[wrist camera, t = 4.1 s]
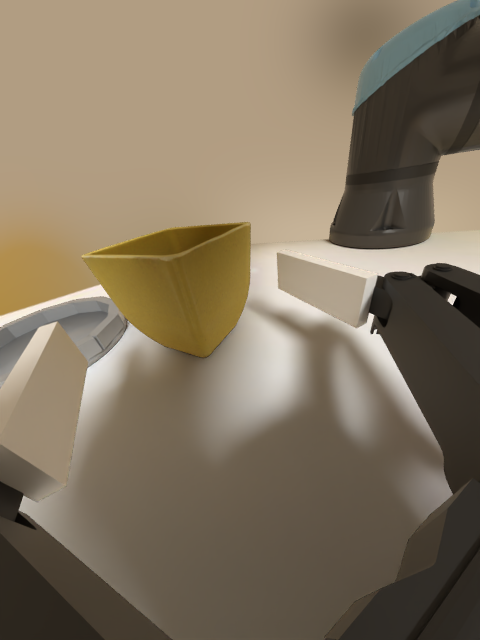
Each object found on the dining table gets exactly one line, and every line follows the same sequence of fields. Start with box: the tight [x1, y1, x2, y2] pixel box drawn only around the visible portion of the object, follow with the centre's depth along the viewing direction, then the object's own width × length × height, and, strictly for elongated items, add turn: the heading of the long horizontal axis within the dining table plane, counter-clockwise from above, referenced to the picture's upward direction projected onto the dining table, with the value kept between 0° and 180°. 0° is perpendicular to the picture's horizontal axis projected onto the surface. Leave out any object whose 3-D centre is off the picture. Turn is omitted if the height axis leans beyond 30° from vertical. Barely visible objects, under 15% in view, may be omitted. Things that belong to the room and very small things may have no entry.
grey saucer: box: [0, 296, 127, 389], centre depth 21 cm, size 14×14×2 cm
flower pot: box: [81, 222, 251, 357], centre depth 17 cm, size 9×9×9 cm
